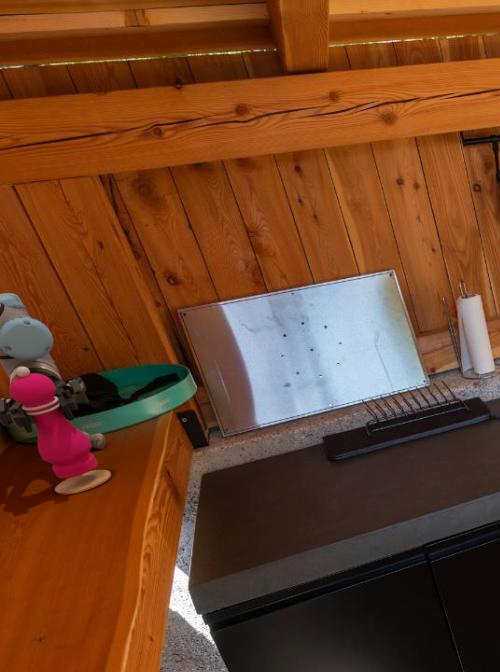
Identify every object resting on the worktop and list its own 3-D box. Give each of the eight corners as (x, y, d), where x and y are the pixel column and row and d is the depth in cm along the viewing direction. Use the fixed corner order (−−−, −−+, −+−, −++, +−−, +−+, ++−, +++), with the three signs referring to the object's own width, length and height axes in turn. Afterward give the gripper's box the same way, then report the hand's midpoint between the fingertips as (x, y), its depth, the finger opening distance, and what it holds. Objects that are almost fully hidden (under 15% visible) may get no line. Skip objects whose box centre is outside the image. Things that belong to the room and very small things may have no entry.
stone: (115, 448, 153) (94, 417, 154) (102, 438, 148) (80, 406, 149) (62, 474, 149) (41, 442, 150) (47, 465, 144) (25, 432, 145)
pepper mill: (42, 478, 135) (-19, 374, 124) (80, 458, 141) (24, 357, 130) (74, 481, 133) (15, 376, 123) (110, 461, 139) (57, 359, 129)
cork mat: (44, 496, 134) (43, 494, 134) (77, 473, 142) (76, 471, 142) (91, 492, 134) (90, 490, 134) (121, 469, 142) (120, 467, 141)
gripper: (103, 389, 150) (120, 420, 134) (-13, 420, 140) (-9, 458, 124) (85, 353, 147) (100, 381, 131) (-35, 383, 137) (-34, 417, 121)
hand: (47, 418), depth 128 cm, fingers closed on pepper mill, 5 cm apart
